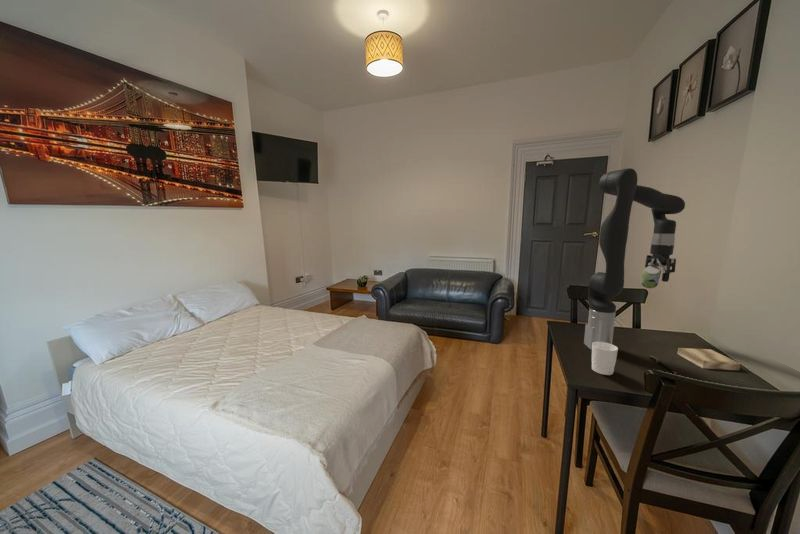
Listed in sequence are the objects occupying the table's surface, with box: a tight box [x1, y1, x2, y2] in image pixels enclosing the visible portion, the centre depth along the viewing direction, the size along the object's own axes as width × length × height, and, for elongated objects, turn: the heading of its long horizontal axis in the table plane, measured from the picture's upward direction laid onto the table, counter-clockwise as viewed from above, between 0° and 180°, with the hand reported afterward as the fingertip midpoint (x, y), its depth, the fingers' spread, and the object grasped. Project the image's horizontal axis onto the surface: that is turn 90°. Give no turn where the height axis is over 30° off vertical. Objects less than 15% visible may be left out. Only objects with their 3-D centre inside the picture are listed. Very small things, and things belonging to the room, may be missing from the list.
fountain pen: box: [648, 355, 678, 375], centre depth 110 cm, size 14×1×2 cm, turn 173°
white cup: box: [591, 342, 619, 376], centre depth 106 cm, size 8×8×10 cm
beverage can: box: [640, 266, 662, 289], centre depth 132 cm, size 6×7×12 cm
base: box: [676, 347, 741, 371], centre depth 112 cm, size 12×12×3 cm
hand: (657, 279), depth 127 cm, fingers open, 8 cm apart
